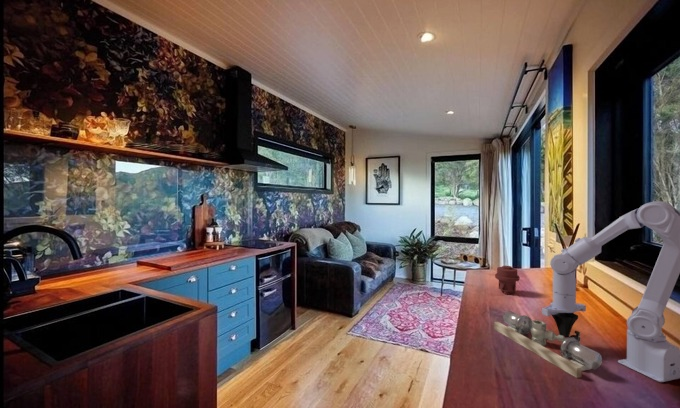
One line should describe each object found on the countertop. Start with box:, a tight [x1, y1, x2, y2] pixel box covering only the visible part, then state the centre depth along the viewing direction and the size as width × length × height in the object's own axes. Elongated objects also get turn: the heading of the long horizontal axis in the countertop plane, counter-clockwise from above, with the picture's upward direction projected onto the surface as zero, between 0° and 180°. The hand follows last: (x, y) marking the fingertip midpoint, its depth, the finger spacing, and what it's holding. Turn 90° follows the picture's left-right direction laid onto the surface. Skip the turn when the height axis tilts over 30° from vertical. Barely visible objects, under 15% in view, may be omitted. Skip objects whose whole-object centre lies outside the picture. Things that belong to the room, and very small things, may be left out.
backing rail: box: [493, 321, 582, 379], centre depth 91 cm, size 29×2×2 cm, turn 13°
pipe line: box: [502, 310, 603, 372], centre depth 92 cm, size 29×6×6 cm, turn 13°
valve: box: [530, 319, 581, 347], centre depth 92 cm, size 7×7×12 cm
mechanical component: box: [494, 265, 521, 295], centre depth 142 cm, size 12×10×10 cm
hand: (564, 336), depth 94 cm, fingers closed
